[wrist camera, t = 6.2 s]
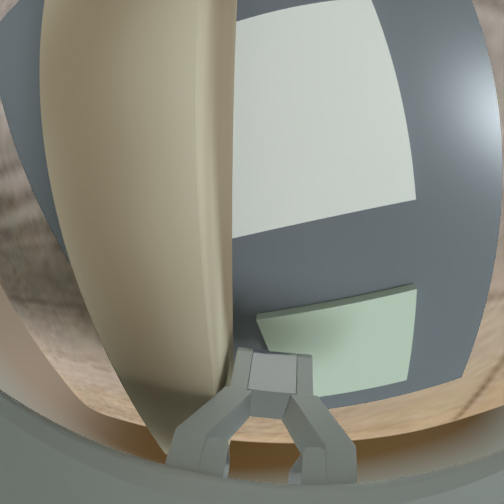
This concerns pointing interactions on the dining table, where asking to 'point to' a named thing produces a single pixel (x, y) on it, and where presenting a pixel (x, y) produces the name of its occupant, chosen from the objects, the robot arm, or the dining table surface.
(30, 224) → the dining table surface
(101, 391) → the dining table surface
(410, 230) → the label board
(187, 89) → the swing arm
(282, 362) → the robot arm
